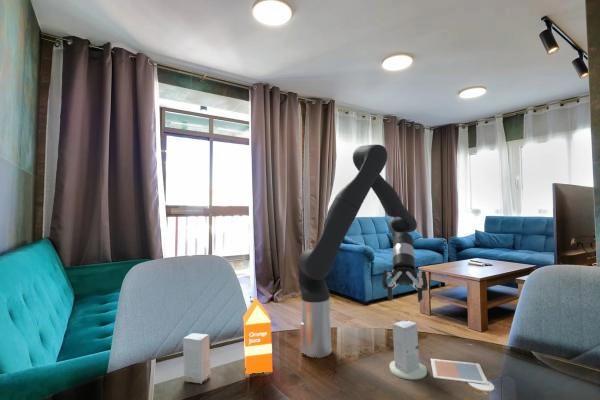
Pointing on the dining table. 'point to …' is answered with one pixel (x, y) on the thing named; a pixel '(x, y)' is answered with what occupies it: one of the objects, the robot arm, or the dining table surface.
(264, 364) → the orange juice
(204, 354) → the skincare box
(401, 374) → the coaster
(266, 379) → the dining table surface
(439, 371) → the blue and orange card
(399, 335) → the skincare box
